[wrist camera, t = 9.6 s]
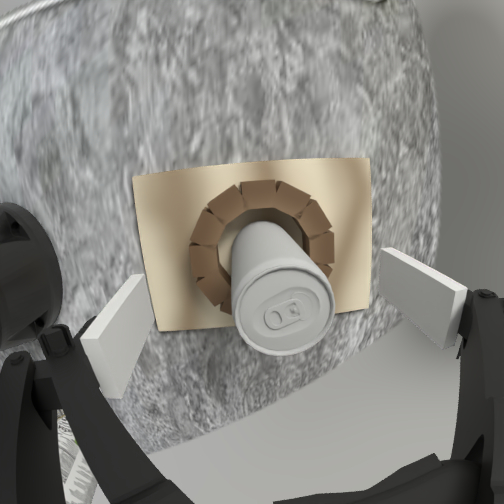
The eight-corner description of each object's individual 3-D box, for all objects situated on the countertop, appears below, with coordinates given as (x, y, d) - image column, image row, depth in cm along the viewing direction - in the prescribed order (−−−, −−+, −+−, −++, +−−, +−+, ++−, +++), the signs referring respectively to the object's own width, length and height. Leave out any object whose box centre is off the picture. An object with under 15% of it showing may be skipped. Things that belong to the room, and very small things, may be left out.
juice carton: (70, 403, 28) (16, 512, 10) (117, 443, 30) (85, 552, 12) (48, 416, 29) (-1, 507, 11) (90, 452, 31) (57, 545, 13)
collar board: (160, 328, 26) (153, 344, 23) (134, 176, 22) (121, 177, 20) (366, 305, 27) (379, 318, 24) (366, 158, 23) (382, 156, 20)
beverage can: (298, 261, 25) (349, 333, 13) (245, 284, 25) (257, 372, 13) (276, 209, 23) (319, 243, 12) (221, 233, 24) (212, 290, 12)
